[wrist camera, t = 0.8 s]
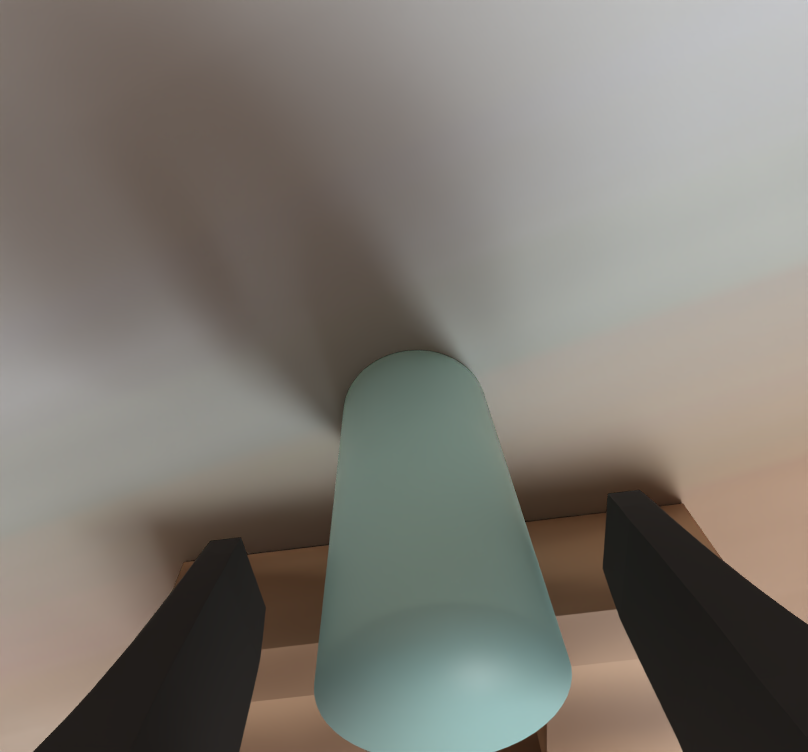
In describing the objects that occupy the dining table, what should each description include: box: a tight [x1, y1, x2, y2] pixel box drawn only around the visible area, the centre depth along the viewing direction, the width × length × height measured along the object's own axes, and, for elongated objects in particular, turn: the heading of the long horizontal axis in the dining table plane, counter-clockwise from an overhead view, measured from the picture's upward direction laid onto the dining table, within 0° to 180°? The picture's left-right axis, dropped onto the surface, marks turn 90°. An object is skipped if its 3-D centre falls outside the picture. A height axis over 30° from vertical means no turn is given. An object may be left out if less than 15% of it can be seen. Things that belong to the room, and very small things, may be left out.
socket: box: [173, 504, 722, 752], centre depth 19 cm, size 10×16×4 cm, turn 97°
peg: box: [314, 350, 572, 752], centre depth 12 cm, size 4×4×8 cm
